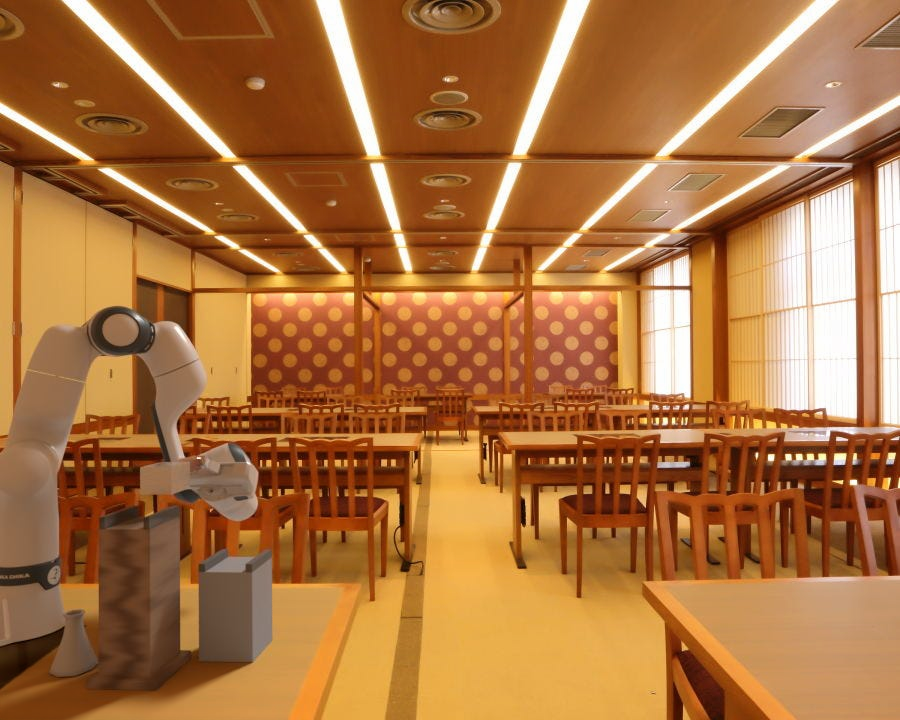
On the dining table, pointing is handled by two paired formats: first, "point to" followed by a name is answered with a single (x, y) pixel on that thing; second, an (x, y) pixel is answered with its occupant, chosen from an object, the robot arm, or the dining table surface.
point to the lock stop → (168, 476)
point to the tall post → (139, 600)
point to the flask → (73, 648)
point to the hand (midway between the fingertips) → (193, 461)
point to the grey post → (235, 607)
